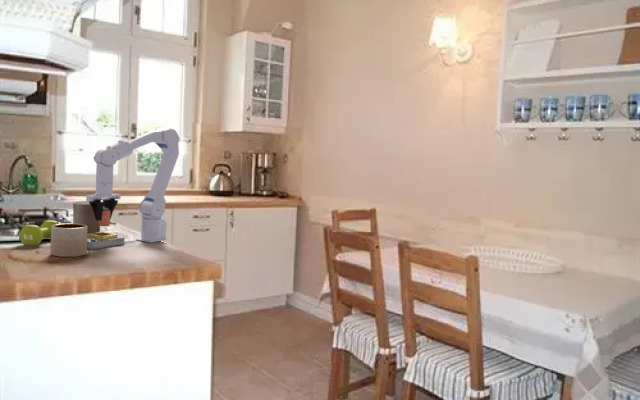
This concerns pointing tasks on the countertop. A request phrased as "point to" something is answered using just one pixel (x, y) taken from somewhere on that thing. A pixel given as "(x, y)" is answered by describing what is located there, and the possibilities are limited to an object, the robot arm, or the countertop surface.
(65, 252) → the planter
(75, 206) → the pillar candle
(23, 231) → the dumbbell
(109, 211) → the oil can
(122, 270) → the countertop surface
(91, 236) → the grey flat block
